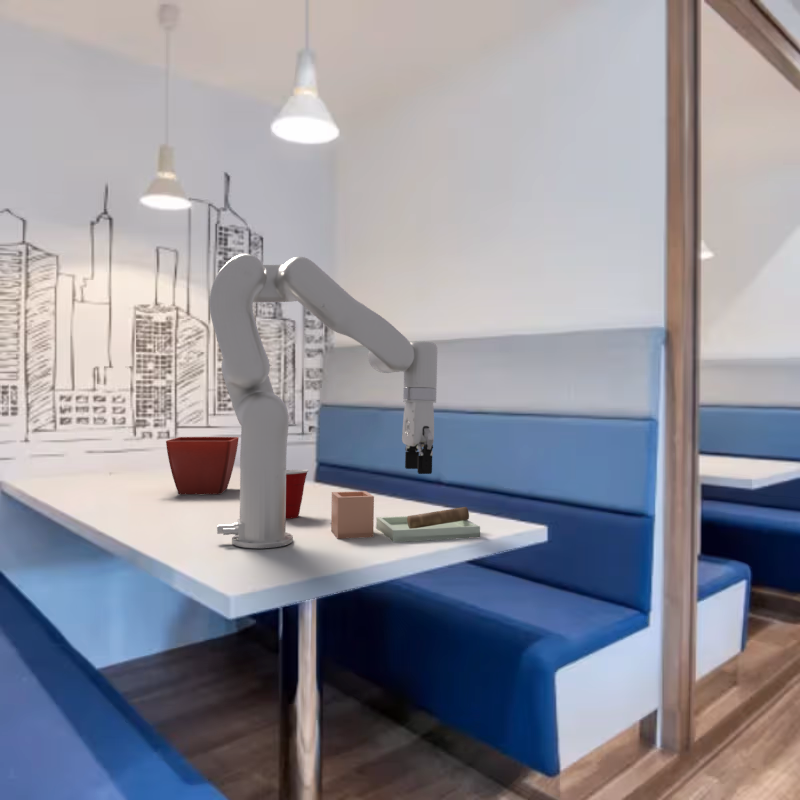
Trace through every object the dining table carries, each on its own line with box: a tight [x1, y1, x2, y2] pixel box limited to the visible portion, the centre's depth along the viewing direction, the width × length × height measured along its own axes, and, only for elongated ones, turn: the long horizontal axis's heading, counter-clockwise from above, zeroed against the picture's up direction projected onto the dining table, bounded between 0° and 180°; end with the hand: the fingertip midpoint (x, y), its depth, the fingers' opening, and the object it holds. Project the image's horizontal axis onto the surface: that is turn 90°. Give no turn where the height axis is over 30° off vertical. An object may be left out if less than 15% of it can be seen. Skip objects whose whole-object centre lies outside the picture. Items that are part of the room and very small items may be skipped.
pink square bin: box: [330, 490, 375, 540], centre depth 148 cm, size 8×8×9 cm
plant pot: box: [165, 436, 239, 495], centre depth 207 cm, size 19×19×17 cm
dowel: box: [407, 506, 470, 529], centre depth 152 cm, size 8×3×14 cm
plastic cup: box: [286, 469, 309, 520], centre depth 168 cm, size 11×11×12 cm
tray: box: [375, 515, 481, 543], centre depth 151 cm, size 20×15×2 cm
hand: (418, 471), depth 150 cm, fingers open, 9 cm apart
